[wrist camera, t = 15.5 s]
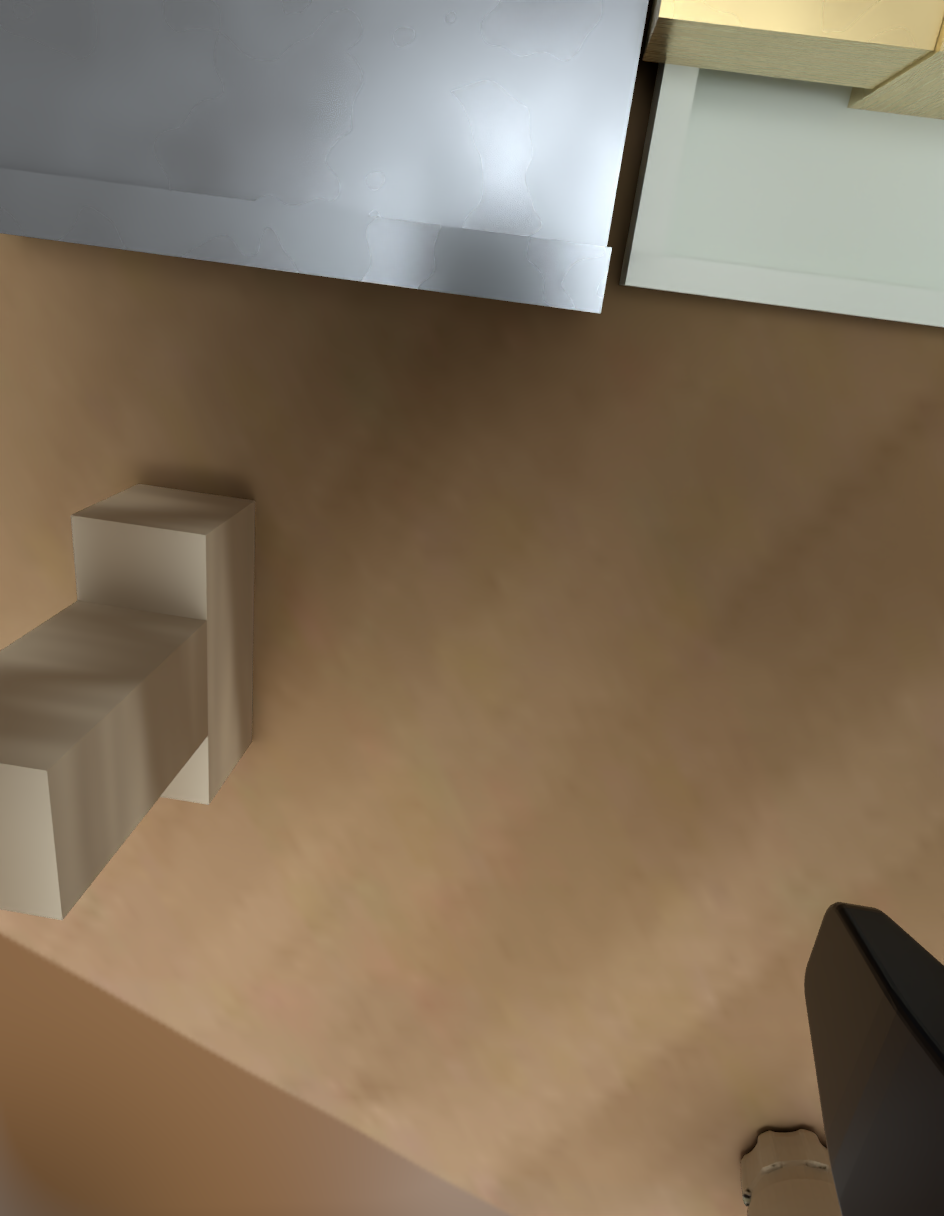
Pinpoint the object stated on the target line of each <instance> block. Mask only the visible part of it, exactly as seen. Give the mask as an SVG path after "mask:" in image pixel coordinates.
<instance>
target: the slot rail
mask: <svg viewBox="0 0 944 1216" xmlns="http://www.w3.org/2000/svg"><path fill="white" fill-rule="evenodd" d="M648 2H649V0H0V233H4V234H11V235H19V236H26V237H33V238H41V239H48V240H56V241H63V242H71V243H78V244H86V245H93V246H101V247H108V248H116V249H123V250H130V251H138V252H145V253H153V254H160V255H168V256H175V257H183V258H190V259H198V260H205V261H213V262H220V263H228V264H235V265H242V266H250V267H257V268H265V269H272V270H280V271H287V272H295V273H302V274H310V275H317V276H325V277H332V278H339V279H347V280H354V281H362V282H369V283H377V284H384V285H392V286H399V287H407V288H414V289H422V290H429V291H437V292H444V293H451V294H459V295H466V296H474V297H481V298H489V299H496V300H504V301H511V302H519V303H526V304H534V305H541V306H549V307H556V308H563V309H571V310H578V311H586V312H593V313H601V309H602V303H603V297H604V291H605V285H606V280H607V274H608V268H609V262H610V256H611V251H612V247H607V243H608V237H609V231H610V225H611V219H612V213H613V207H614V202H615V196H616V190H617V184H618V178H619V172H620V166H621V161H622V155H623V149H624V143H625V137H626V131H627V125H628V120H629V114H630V108H631V102H632V96H633V90H634V84H635V78H636V73H637V67H638V61H639V55H640V49H641V43H642V37H643V32H644V26H645V20H646V14H647V8H648Z"/></svg>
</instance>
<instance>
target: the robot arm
mask: <svg viewBox="0 0 944 1216" xmlns="http://www.w3.org/2000/svg"><path fill="white" fill-rule="evenodd" d="M804 988H805V999H806V1006H807V1013H808V1020H809V1027H810V1034H811V1041H812V1047H813V1054H814V1061H815V1068H816V1075H817V1082H818V1089H819V1095H820V1102H821V1109H822V1116H823V1123H824V1130H825V1136H826V1143H827V1149H828V1154H829V1160H830V1166H831V1171H832V1176H833V1180H834V1184H835V1189H836V1193H837V1198H838V1202H839V1206H840V1210H841V1214H842V1216H944V966H943V965H942V964H941V963H940V962H939V961H938V960H937V959H936V958H934V957H933V956H932V955H931V954H930V953H929V952H928V951H927V950H925V949H924V948H923V947H922V946H921V945H920V944H919V943H918V942H916V941H915V940H914V939H913V938H912V937H911V936H910V935H909V934H907V933H906V932H905V931H904V930H903V929H902V928H901V927H900V926H899V925H897V924H896V923H895V922H894V921H893V920H892V919H891V918H890V917H888V916H887V915H886V914H885V913H883V912H882V911H880V910H878V909H876V908H872V907H866V906H860V905H854V904H848V903H842V902H837V903H834V904H832V905H830V907H829V908H828V909H827V911H826V913H825V915H824V918H823V921H822V924H821V927H820V929H819V932H818V935H817V938H816V941H815V944H814V947H813V950H812V953H811V955H810V958H809V961H808V964H807V968H806V972H805V982H804Z"/></svg>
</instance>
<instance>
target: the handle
mask: <svg viewBox="0 0 944 1216" xmlns="http://www.w3.org/2000/svg"><path fill="white" fill-rule="evenodd" d="M741 1187H742V1196H743V1201H744V1204H745V1205H746V1206H749V1207H748V1211H747V1216H842V1214H841V1210H840V1206H839V1202H838V1198H837V1193H836V1189H835V1184H834V1180H833V1176H832V1171H831V1166H830V1160H829V1154H828V1149H827V1148H825V1147H824V1146H823V1145H822V1144H820V1141H819V1139H818V1137H817V1136H816V1134H815V1133H813V1132H811V1131H808V1130H804V1129H799V1130H798V1131H794V1132H787V1133H778V1132H773V1131H767V1132H764V1133H762V1134H760V1135H759V1136H758V1143H757V1144H756V1146H755V1148H754V1149H753V1150H752V1151H751V1152H750V1153H748V1154H746V1155H744V1157H743V1158H742V1160H741Z"/></svg>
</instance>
